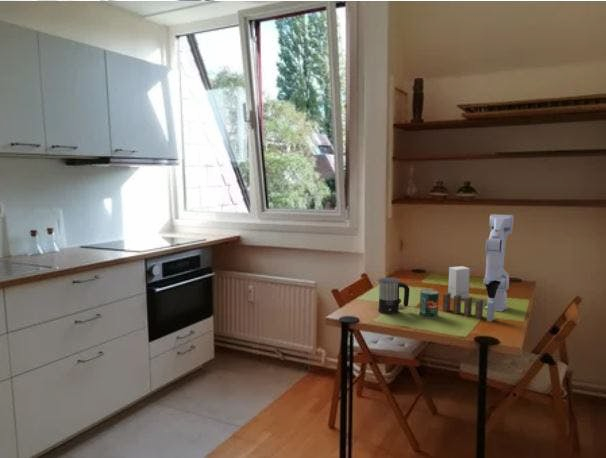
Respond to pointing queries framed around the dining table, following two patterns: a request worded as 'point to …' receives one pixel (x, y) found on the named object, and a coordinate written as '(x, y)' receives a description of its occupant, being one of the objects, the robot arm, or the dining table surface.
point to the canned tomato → (429, 303)
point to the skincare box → (459, 281)
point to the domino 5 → (490, 311)
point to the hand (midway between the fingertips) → (491, 297)
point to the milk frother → (391, 295)
